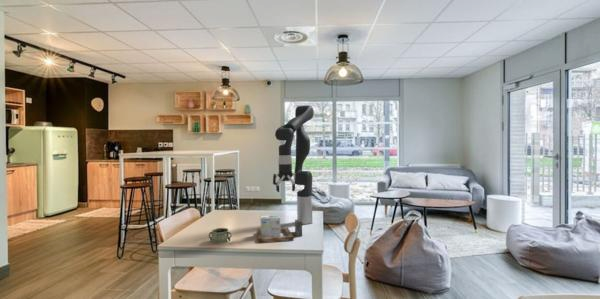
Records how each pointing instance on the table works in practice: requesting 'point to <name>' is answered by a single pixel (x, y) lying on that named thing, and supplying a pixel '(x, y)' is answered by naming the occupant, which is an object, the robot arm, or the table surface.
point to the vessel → (220, 235)
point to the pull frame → (282, 238)
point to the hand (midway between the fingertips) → (285, 191)
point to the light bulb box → (270, 226)
